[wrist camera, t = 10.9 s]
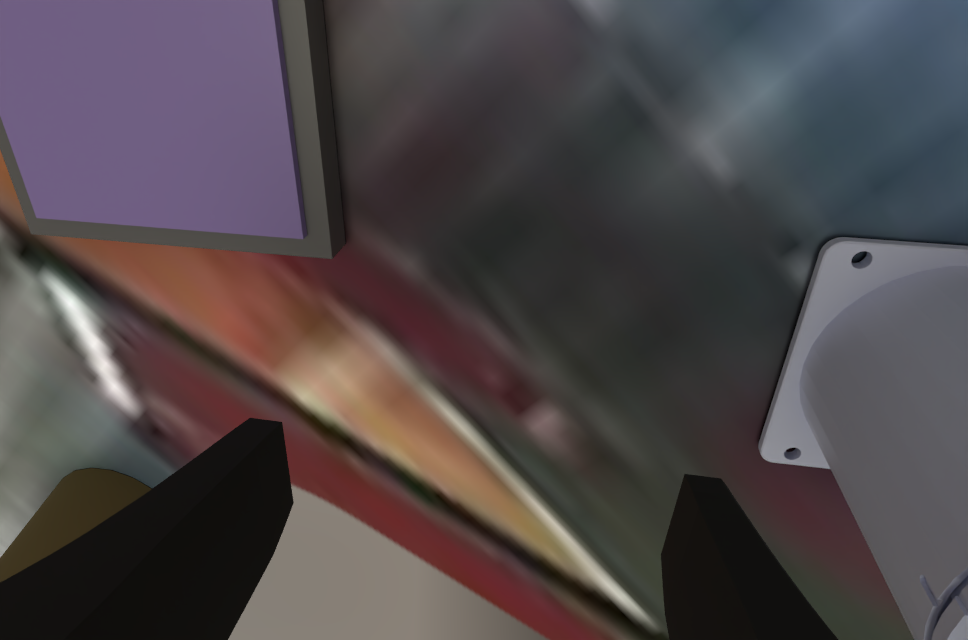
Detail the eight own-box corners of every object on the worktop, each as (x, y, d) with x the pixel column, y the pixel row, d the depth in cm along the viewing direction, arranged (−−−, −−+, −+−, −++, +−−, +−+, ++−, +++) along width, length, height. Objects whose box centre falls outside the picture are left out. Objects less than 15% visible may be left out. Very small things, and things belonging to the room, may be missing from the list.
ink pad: (313, -97, 15) (287, -104, 14) (345, 243, 20) (328, 262, 18) (-51, -103, 16) (-106, -110, 15) (59, 221, 21) (23, 237, 19)
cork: (30, 486, 28) (-254, 750, 18) (122, 453, 26) (-143, 730, 17) (119, 573, 30) (-93, 847, 21) (209, 548, 28) (21, 839, 19)
